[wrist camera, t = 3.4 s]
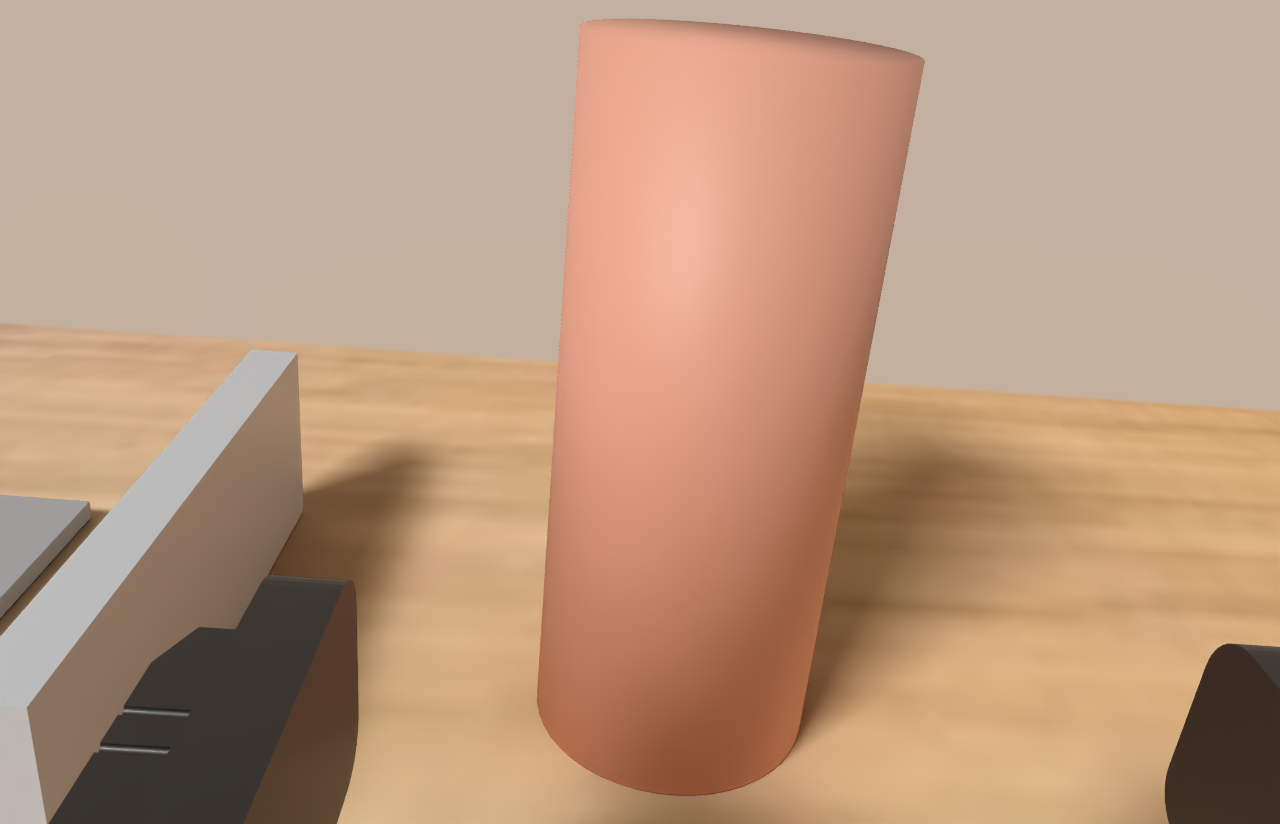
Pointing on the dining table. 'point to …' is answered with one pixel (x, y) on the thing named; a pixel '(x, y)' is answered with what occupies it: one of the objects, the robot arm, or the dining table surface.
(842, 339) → the salmon pink cylinder
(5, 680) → the acrylic wall
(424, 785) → the dining table surface
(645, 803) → the dining table surface
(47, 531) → the resting mat
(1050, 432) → the dining table surface
